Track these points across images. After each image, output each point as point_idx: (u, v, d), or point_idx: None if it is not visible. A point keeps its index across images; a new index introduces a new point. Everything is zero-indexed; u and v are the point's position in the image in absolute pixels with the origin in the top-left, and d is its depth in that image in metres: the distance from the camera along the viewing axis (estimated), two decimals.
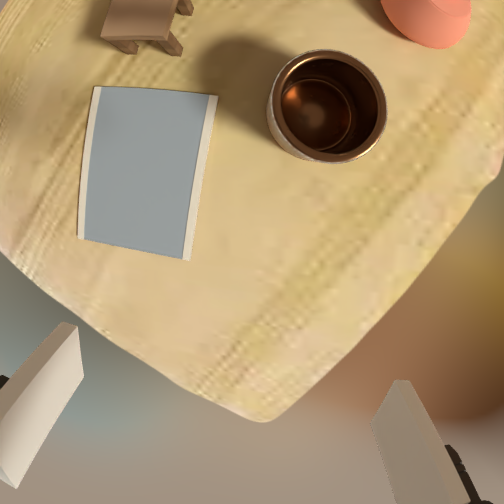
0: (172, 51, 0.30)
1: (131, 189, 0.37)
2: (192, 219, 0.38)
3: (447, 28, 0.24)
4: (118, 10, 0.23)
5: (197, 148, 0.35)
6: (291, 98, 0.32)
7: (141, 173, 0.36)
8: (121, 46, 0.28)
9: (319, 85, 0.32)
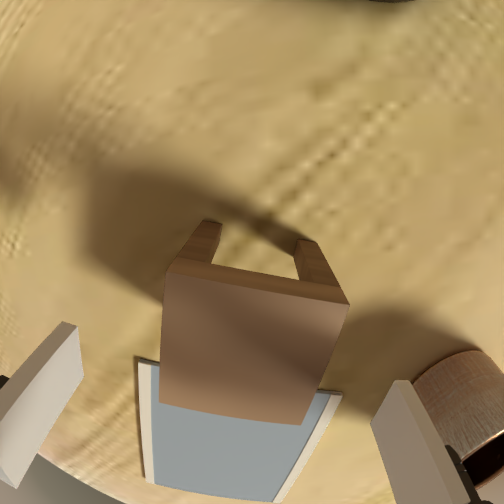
0: None
1: (215, 465, 0.27)
2: (288, 484, 0.28)
3: None
4: (189, 361, 0.13)
5: (304, 442, 0.25)
6: None
7: (229, 457, 0.26)
8: None
9: None
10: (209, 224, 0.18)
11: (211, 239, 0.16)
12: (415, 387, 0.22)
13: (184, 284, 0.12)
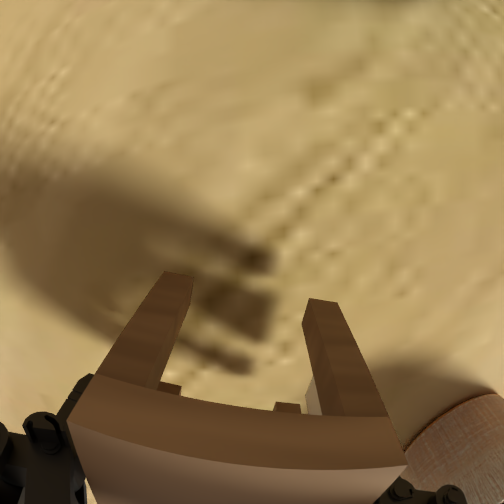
0: None
1: None
2: None
3: None
4: None
5: None
6: None
7: None
8: None
9: None
10: (172, 280, 0.12)
11: (169, 316, 0.09)
12: (423, 439, 0.17)
13: (102, 443, 0.05)
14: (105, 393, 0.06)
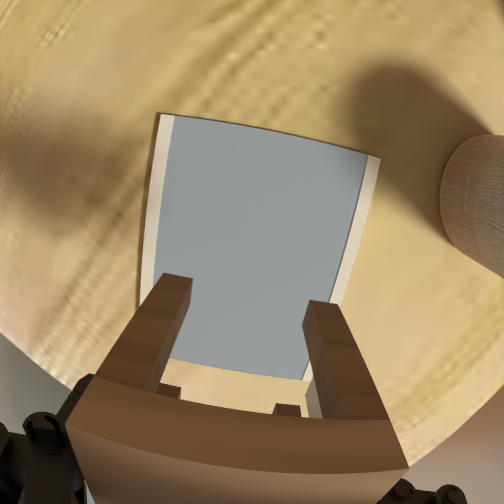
0: None
1: (233, 293, 0.25)
2: None
3: None
4: None
5: (344, 238, 0.23)
6: None
7: (251, 271, 0.24)
8: None
9: None
10: (172, 281, 0.12)
11: (168, 318, 0.09)
12: (452, 159, 0.20)
13: (101, 447, 0.05)
14: (104, 396, 0.06)
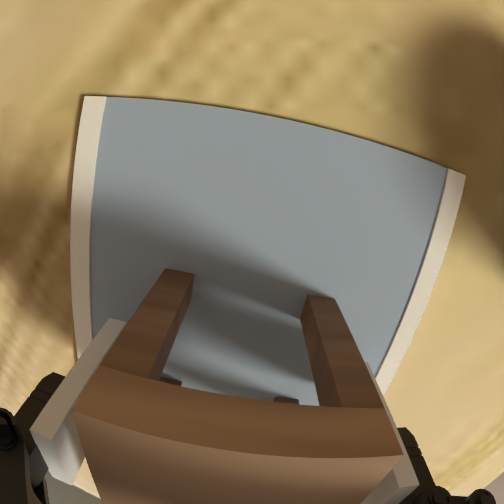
0: None
1: (217, 391, 0.15)
2: None
3: None
4: None
5: (401, 308, 0.13)
6: None
7: (246, 362, 0.14)
8: None
9: None
10: (174, 276, 0.12)
11: (170, 311, 0.10)
12: None
13: (106, 432, 0.05)
14: (109, 384, 0.06)
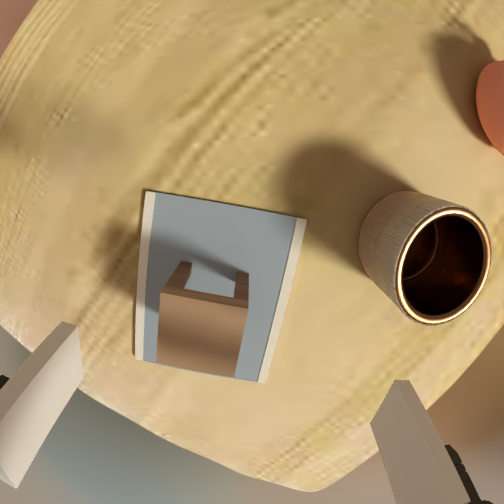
0: None
1: None
2: (271, 348, 0.35)
3: None
4: (172, 337, 0.26)
5: (280, 278, 0.33)
6: None
7: None
8: None
9: None
10: (184, 264, 0.32)
11: (184, 273, 0.29)
12: (368, 215, 0.30)
13: (169, 298, 0.25)
14: (169, 288, 0.26)
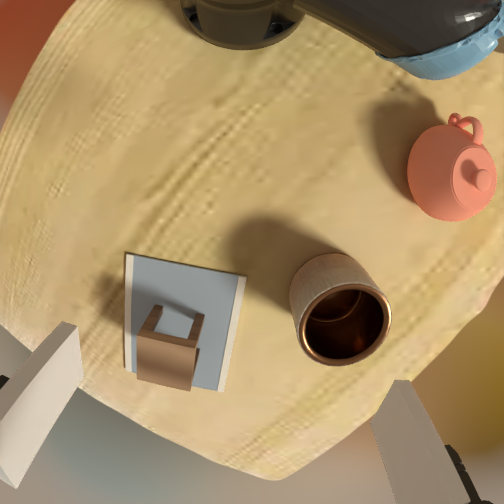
0: None
1: None
2: (225, 367, 0.45)
3: (466, 216, 0.31)
4: (146, 363, 0.36)
5: (228, 319, 0.43)
6: None
7: (180, 333, 0.44)
8: None
9: None
10: (157, 307, 0.42)
11: (155, 317, 0.39)
12: (296, 274, 0.40)
13: (142, 339, 0.35)
14: (143, 331, 0.36)
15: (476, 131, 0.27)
